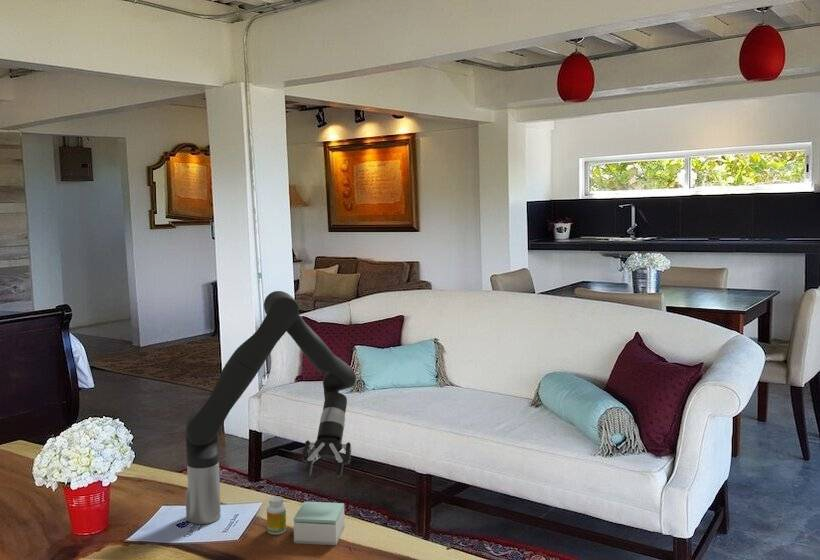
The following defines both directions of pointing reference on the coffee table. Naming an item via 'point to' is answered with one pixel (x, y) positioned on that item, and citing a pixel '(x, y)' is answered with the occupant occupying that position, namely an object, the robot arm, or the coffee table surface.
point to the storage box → (318, 532)
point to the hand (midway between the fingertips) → (323, 475)
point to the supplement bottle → (276, 516)
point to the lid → (319, 512)
